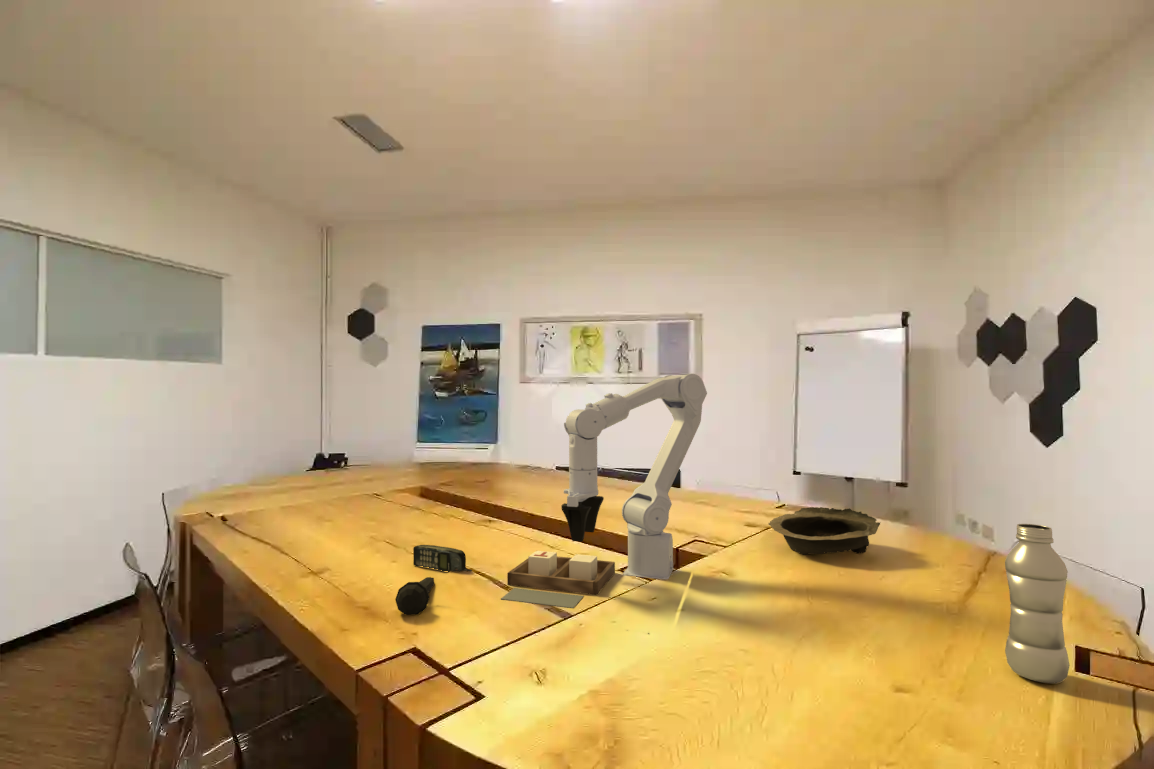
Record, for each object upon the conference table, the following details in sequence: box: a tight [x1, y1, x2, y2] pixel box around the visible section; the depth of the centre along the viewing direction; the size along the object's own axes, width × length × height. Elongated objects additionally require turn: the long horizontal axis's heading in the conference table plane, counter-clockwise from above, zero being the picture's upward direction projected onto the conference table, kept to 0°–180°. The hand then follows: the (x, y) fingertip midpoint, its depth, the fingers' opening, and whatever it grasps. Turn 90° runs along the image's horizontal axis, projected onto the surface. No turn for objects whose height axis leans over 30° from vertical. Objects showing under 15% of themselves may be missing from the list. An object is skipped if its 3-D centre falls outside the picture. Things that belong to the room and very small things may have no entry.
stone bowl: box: [768, 506, 881, 556], centre depth 134 cm, size 25×25×9 cm
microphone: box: [394, 576, 435, 616], centre depth 102 cm, size 6×6×20 cm
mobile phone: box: [412, 544, 473, 573], centre depth 120 cm, size 5×3×15 cm
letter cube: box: [527, 550, 558, 576], centre depth 113 cm, size 4×4×5 cm
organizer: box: [506, 555, 616, 596], centre depth 112 cm, size 18×14×3 cm
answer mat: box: [500, 587, 585, 609], centre depth 101 cm, size 14×6×1 cm, turn 72°
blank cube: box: [569, 553, 598, 581], centre depth 110 cm, size 4×4×4 cm
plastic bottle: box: [1004, 523, 1071, 684], centre depth 73 cm, size 6×7×20 cm
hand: (583, 536), depth 111 cm, fingers open, 7 cm apart
